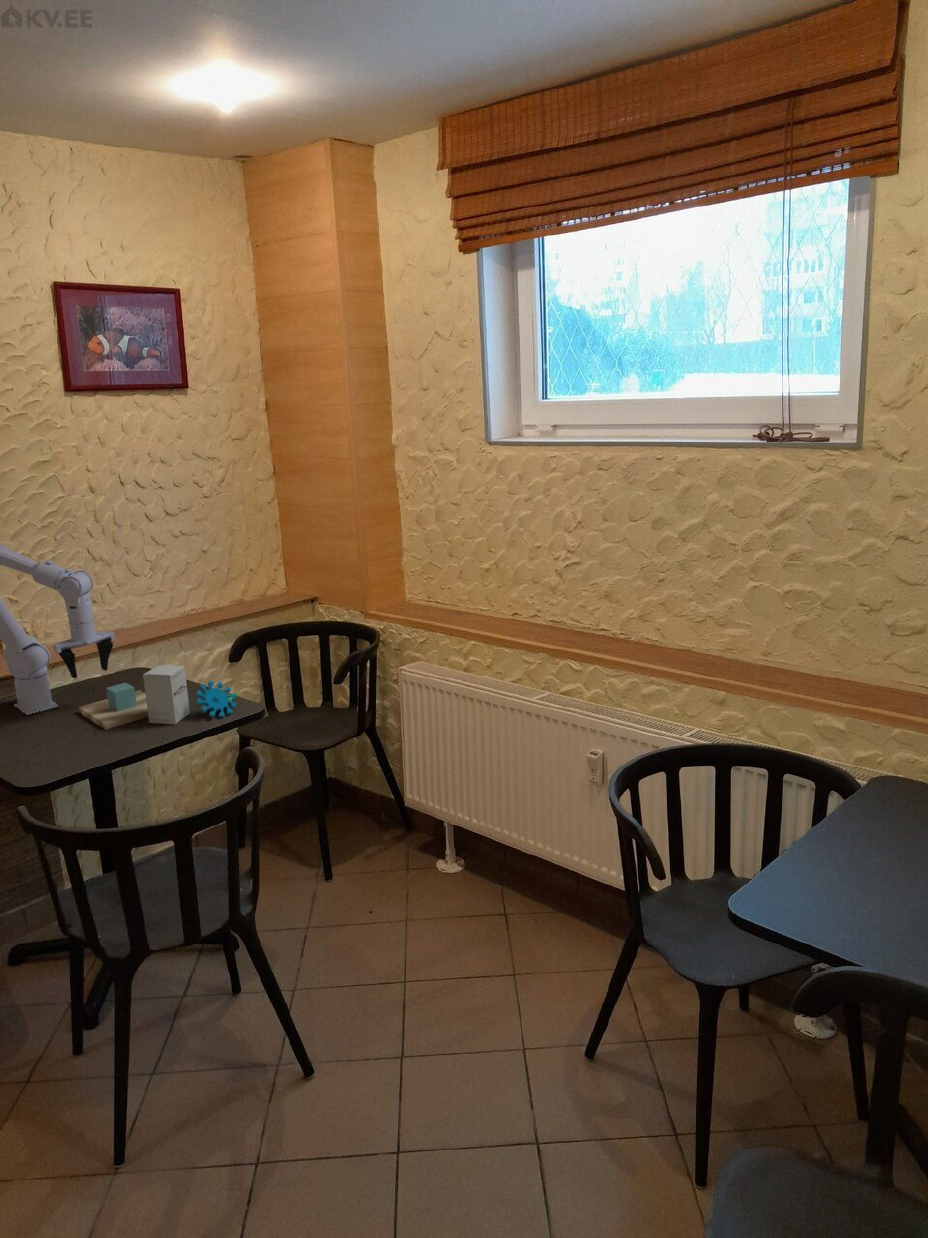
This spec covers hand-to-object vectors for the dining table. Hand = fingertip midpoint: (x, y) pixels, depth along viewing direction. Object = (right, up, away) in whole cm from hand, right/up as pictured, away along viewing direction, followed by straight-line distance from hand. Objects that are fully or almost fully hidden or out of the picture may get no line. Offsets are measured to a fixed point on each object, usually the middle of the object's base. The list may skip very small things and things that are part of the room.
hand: (89, 673), depth 235 cm
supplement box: (+22, -11, -6) cm, 25 cm away
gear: (+33, -10, -3) cm, 35 cm away
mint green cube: (+9, -8, -1) cm, 12 cm away
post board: (+9, -10, 0) cm, 13 cm away
